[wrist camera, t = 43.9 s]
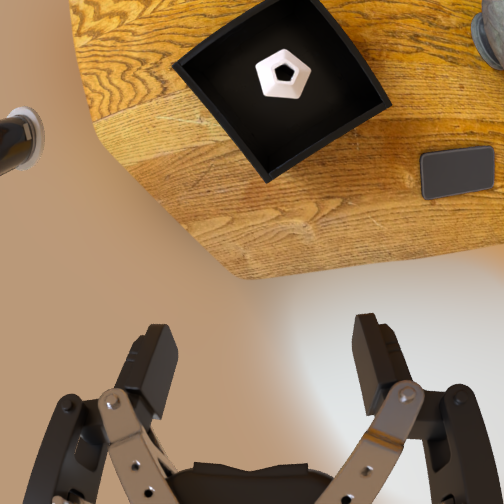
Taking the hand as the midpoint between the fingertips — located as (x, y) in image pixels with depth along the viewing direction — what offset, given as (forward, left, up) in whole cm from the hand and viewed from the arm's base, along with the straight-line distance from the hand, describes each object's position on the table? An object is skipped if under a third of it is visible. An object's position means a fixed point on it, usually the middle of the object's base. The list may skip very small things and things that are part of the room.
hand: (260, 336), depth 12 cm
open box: (+8, +8, -30) cm, 32 cm away
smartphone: (+25, -16, -30) cm, 42 cm away
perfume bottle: (+8, +8, -30) cm, 32 cm away
